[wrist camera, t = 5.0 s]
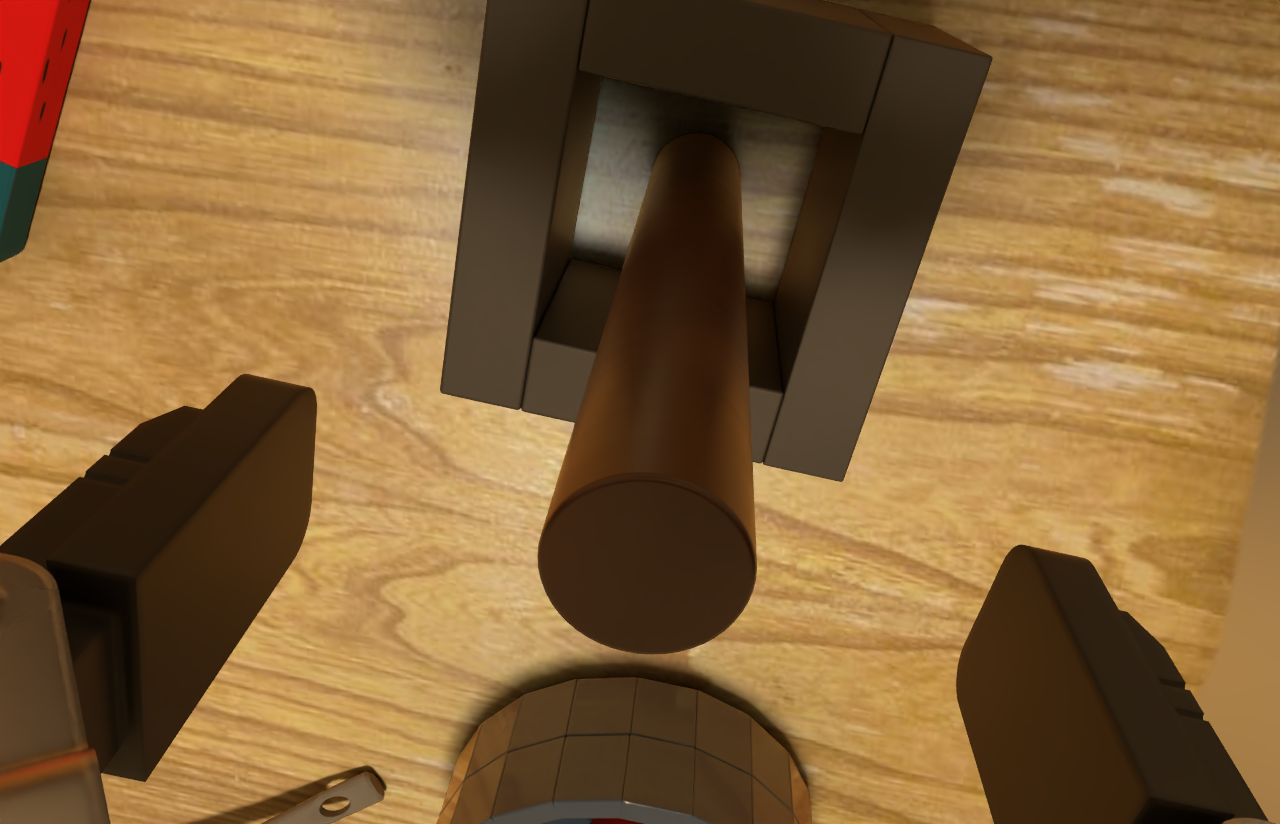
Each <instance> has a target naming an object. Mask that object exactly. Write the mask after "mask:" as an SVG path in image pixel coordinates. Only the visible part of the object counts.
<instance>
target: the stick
mask: <svg viewBox="0 0 1280 824" xmlns="http://www.w3.org/2000/svg"><path fill="white" fill-rule="evenodd" d="M538 569H539V574H540V578H541V581H542V584H543V587H544V589H545V592H546V594H547V596H548V597H549V599H550V601H551V603H552V604H553V606H554V607H555V609H556V610H557V611H558V613H559V614H560V615H561V616H562V617H563V618H564V619H565V620H566V621H567V622H568V623H569V624H570V625H571V626H573V627H574V628H575V629H576V630H578V631H579V632H581V633H582V634H584V635H585V636H587V637H588V638H590V639H592V640H594V641H596V642H598V643H600V644H603V645H606V646H608V647H611V648H614V649H618V650H621V651H625V652H631V653H637V654H668V653H674V652H680V651H684V650H687V649H691V648H694V647H696V646H699V645H702V644H704V643H706V642H708V641H709V640H711V639H713V638H715V637H716V636H718V635H719V634H721V633H722V632H723V631H725V630H726V629H727V628H728V627H729V626H730V625H731V624H732V623H733V622H734V621H735V620H736V619H737V618H738V616H739V615H740V614H741V613H742V611H743V610H744V608H745V606H746V605H747V603H748V601H749V599H750V597H751V594H752V592H753V589H754V585H755V581H756V572H757V558H756V534H755V510H754V487H753V463H752V440H751V416H750V393H749V369H748V346H747V322H746V299H745V275H744V251H743V228H742V204H741V181H740V169H739V165H738V162H737V159H736V157H735V156H734V154H733V152H732V151H731V150H730V149H729V147H728V146H727V145H726V144H724V143H723V142H722V141H720V140H719V139H717V138H715V137H713V136H710V135H706V134H696V133H694V134H687V135H683V136H680V137H678V138H676V139H674V140H672V141H671V142H670V143H668V144H667V145H666V146H665V147H664V148H663V149H662V151H661V152H660V153H659V155H658V157H657V158H656V161H655V163H654V166H653V170H652V173H651V176H650V180H649V183H648V186H647V189H646V193H645V196H644V199H643V202H642V206H641V209H640V212H639V216H638V219H637V222H636V225H635V229H634V232H633V235H632V238H631V242H630V245H629V248H628V252H627V255H626V258H625V261H624V265H623V268H622V271H621V275H620V278H619V281H618V284H617V288H616V291H615V294H614V297H613V301H612V304H611V307H610V311H609V314H608V317H607V320H606V324H605V327H604V330H603V334H602V337H601V340H600V343H599V347H598V350H597V353H596V356H595V360H594V363H593V366H592V370H591V373H590V376H589V379H588V383H587V386H586V389H585V392H584V396H583V399H582V402H581V406H580V409H579V412H578V415H577V419H576V422H575V425H574V429H573V432H572V435H571V438H570V442H569V445H568V448H567V451H566V455H565V458H564V461H563V465H562V468H561V471H560V474H559V478H558V481H557V484H556V487H555V491H554V494H553V497H552V501H551V504H550V507H549V510H548V514H547V517H546V520H545V524H544V527H543V530H542V533H541V537H540V541H539V546H538Z"/></svg>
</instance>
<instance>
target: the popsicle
mask: <svg viewBox="0 0 1280 824" xmlns="http://www.w3.org/2000/svg"><path fill="white" fill-rule="evenodd" d="M88 4H89V0H0V262H2V261H4V260H6V259H9V258H11V257H13V256H15V255H17V254H19V253H20V252H21V250H22V249H23V247H24V244H25V241H26V237H27V233H28V230H29V226H30V222H31V218H32V215H33V211H34V207H35V203H36V200H37V196H38V192H39V188H40V185H41V181H42V177H43V173H44V169H45V166H46V162H47V158H48V154H49V151H50V147H51V143H52V139H53V136H54V132H55V128H56V124H57V121H58V117H59V113H60V109H61V106H62V102H63V98H64V94H65V91H66V87H67V83H68V79H69V76H70V72H71V68H72V64H73V60H74V57H75V53H76V49H77V45H78V42H79V38H80V34H81V30H82V27H83V23H84V19H85V15H86V12H87V8H88Z"/></svg>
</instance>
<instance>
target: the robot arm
mask: <svg viewBox="0 0 1280 824" xmlns="http://www.w3.org/2000/svg"><path fill="white" fill-rule="evenodd" d="M316 416H317V401H316V395H315V392H314V391H313V389H312V388H309V387H305V386H300V385H295V384H291V383H286V382H282V381H277V380H273V379H268V378H263V377H259V376H254V375H250V374H243V375H240V376H239V377H238V378H236V379H235V380H234V381H233V382H232V383H231V384H230V385H229V386H228V387H227V388H226V389H225V390H224V391H223V392H222V393H221V394H220V395H219V396H217V397H216V398H215V399H214V400H213V401H212V402H211V403H210V404H209V405H208V406H207V407H206V408H205V409H204V410H202V409H197V408H193V407H188V406H183V407H181V408H178V409H176V410H173V411H171V412H168V413H166V414H163V415H161V416H158V417H156V418H153V419H151V420H149V421H146V422H144V423H141V424H140V425H138V426H137V427H136V428H135V429H134V430H133V431H132V432H130V433H129V434H128V435H127V436H126V437H125V438H124V439H122V440H121V441H120V442H119V443H118V444H117V445H115V446H114V447H113V448H112V449H111V452H110V455H109V456H108V455H104V456H103V457H102V458H101V459H99V460H98V461H97V462H96V463H95V464H94V465H93V466H91V467H90V468H89V469H88V470H87V471H86V474H85V477H84V478H82V477H79V478H78V479H76V480H75V481H74V482H73V483H72V484H71V485H70V486H68V487H67V488H66V489H65V490H64V491H63V492H61V493H60V494H59V495H58V496H57V497H56V498H55V499H53V500H52V501H51V502H50V503H49V504H48V505H47V506H45V507H44V508H43V509H42V510H41V511H40V512H38V513H37V514H36V515H35V516H34V517H33V518H32V519H30V520H29V521H28V522H27V523H26V524H25V525H24V526H22V527H21V528H20V529H19V530H18V531H17V532H15V533H14V534H13V535H12V536H11V537H10V538H9V539H7V540H6V541H5V542H4V543H3V544H2V545H1V546H0V824H110V819H109V814H108V809H107V804H106V799H105V794H104V789H103V783H102V778H101V773H104V774H109V775H114V776H119V777H124V778H128V779H133V780H138V781H143V782H146V780H147V779H148V777H149V776H150V774H151V773H152V771H153V770H154V768H155V767H156V765H157V764H158V762H159V761H160V759H161V758H162V756H163V755H164V753H165V752H166V750H167V749H168V747H169V746H170V744H171V743H172V741H173V740H174V738H175V737H176V735H177V734H178V732H179V731H180V729H181V728H182V726H183V725H184V723H185V722H186V720H187V719H188V717H189V716H190V714H191V713H192V711H193V710H194V708H195V707H196V705H197V704H198V702H199V701H200V699H201V698H202V696H203V695H204V693H205V692H206V690H207V689H208V687H209V686H210V684H211V683H212V681H213V680H214V678H215V677H216V675H217V674H218V672H219V671H220V669H221V668H222V666H223V665H224V663H225V662H226V660H227V659H228V657H229V656H230V654H231V653H232V651H233V650H234V648H235V647H236V646H237V644H238V643H239V641H240V640H241V638H242V637H243V635H244V634H245V632H246V631H247V629H248V628H249V626H250V625H251V623H252V622H253V620H254V619H255V617H256V616H257V614H258V613H259V611H260V610H261V608H262V607H263V605H264V604H265V602H266V601H267V599H268V598H269V596H270V595H271V593H272V592H273V590H274V589H275V587H276V586H277V584H278V583H279V581H280V580H281V578H282V577H283V575H284V574H285V572H286V571H287V569H288V568H289V566H290V565H291V563H292V562H293V560H294V559H295V557H296V555H297V553H298V551H299V549H300V547H301V544H302V542H303V539H304V536H305V533H306V530H307V526H308V522H309V517H310V511H311V503H312V486H313V469H314V451H315V434H316ZM1185 684H1186V683H1185V681H1184V680H1183V678H1182V676H1181V675H1180V673H1179V671H1178V670H1177V668H1176V666H1175V665H1174V663H1173V661H1172V660H1171V658H1170V656H1169V655H1168V653H1167V652H1166V650H1165V648H1164V647H1163V646H1162V645H1161V644H1160V643H1159V642H1158V641H1157V640H1156V639H1155V638H1154V637H1153V636H1152V635H1151V634H1150V633H1149V632H1148V631H1146V630H1145V629H1144V628H1143V627H1142V626H1141V625H1140V624H1139V623H1138V622H1137V621H1136V620H1135V619H1134V618H1133V617H1132V616H1131V615H1130V614H1129V613H1128V612H1125V611H1120V610H1118V608H1117V606H1116V604H1115V602H1114V601H1113V599H1112V597H1111V595H1110V594H1109V592H1108V590H1107V588H1106V587H1105V585H1104V583H1103V581H1102V580H1101V578H1100V576H1099V574H1098V573H1097V571H1096V569H1095V567H1094V566H1093V564H1092V563H1091V562H1090V561H1089V560H1087V559H1085V558H1081V557H1077V556H1072V555H1067V554H1063V553H1058V552H1054V551H1049V550H1045V549H1040V548H1035V547H1031V546H1026V545H1018V546H1015V547H1014V548H1013V549H1012V550H1011V551H1010V552H1009V553H1008V554H1007V556H1006V557H1005V559H1004V561H1003V563H1002V565H1001V567H1000V569H999V571H998V574H997V576H996V578H995V580H994V582H993V584H992V586H991V589H990V591H989V593H988V595H987V597H986V599H985V601H984V604H983V606H982V608H981V610H980V612H979V614H978V616H977V618H976V621H975V623H974V625H973V627H972V629H971V631H970V633H969V636H968V638H967V640H966V642H965V644H964V647H963V649H962V652H961V655H960V659H959V663H958V669H957V679H956V689H957V699H958V703H959V707H960V710H961V714H962V717H963V721H964V724H965V727H966V731H967V734H968V737H969V741H970V744H971V747H972V751H973V754H974V757H975V761H976V764H977V768H978V771H979V774H980V778H981V781H982V784H983V788H984V791H985V794H986V798H987V801H988V804H989V808H990V811H991V815H992V818H993V821H994V824H1275V823H1272V822H1269V821H1268V819H1267V818H1266V816H1265V814H1264V813H1263V811H1262V809H1261V808H1260V806H1259V804H1258V803H1257V801H1256V799H1255V798H1254V796H1253V794H1252V793H1251V791H1250V789H1249V788H1248V786H1247V784H1246V783H1245V781H1244V780H1243V778H1242V776H1241V774H1240V773H1239V771H1238V769H1237V768H1236V766H1235V765H1234V763H1233V761H1232V760H1231V758H1230V756H1229V755H1228V753H1227V751H1226V750H1225V748H1224V746H1223V745H1222V743H1221V741H1220V740H1219V738H1218V736H1217V735H1216V733H1215V731H1214V730H1213V728H1212V726H1211V725H1210V723H1209V722H1208V721H1204V720H1203V715H1204V713H1203V711H1202V710H1201V708H1200V707H1199V705H1198V703H1197V701H1196V700H1195V698H1194V696H1193V695H1192V693H1191V691H1189V690H1185Z"/></svg>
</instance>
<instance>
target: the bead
mask: <svg viewBox="0 0 1280 824" xmlns="http://www.w3.org/2000/svg"><path fill="white" fill-rule="evenodd" d="M590 824H643V823H639V822H634V821H629V820H625V819H620V818H595V819H593V820H592V821H591V823H590Z"/></svg>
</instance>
